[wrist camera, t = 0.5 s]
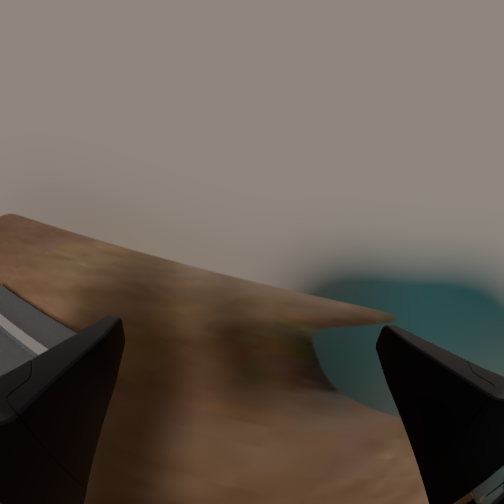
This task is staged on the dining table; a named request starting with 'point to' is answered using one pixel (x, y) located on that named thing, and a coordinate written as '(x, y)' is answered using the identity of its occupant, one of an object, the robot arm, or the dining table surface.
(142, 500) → the dining table surface
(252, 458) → the dining table surface
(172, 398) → the dining table surface
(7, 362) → the mounting plate
